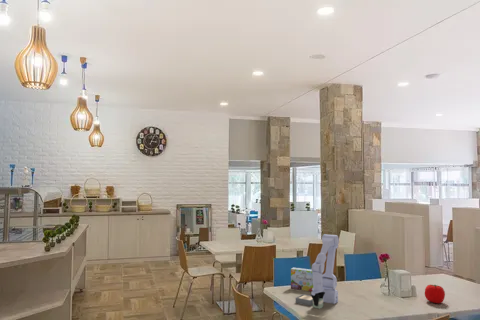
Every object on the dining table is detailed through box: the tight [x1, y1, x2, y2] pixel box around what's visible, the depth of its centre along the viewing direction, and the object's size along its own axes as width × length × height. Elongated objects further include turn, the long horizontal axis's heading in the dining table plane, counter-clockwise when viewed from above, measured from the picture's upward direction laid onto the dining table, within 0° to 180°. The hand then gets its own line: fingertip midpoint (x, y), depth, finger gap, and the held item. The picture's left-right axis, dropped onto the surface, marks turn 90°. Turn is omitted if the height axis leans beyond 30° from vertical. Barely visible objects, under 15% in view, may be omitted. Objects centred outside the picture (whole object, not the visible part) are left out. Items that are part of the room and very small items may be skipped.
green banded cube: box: [312, 298, 324, 310], centre depth 252 cm, size 5×5×5 cm
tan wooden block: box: [299, 294, 313, 300], centre depth 262 cm, size 8×8×3 cm
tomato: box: [424, 284, 446, 304], centre depth 267 cm, size 12×13×12 cm
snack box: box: [290, 267, 313, 292], centre depth 297 cm, size 21×6×15 cm, turn 62°
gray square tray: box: [295, 293, 313, 307], centre depth 262 cm, size 11×11×4 cm
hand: (318, 304), depth 252 cm, fingers closed on green banded cube, 5 cm apart
